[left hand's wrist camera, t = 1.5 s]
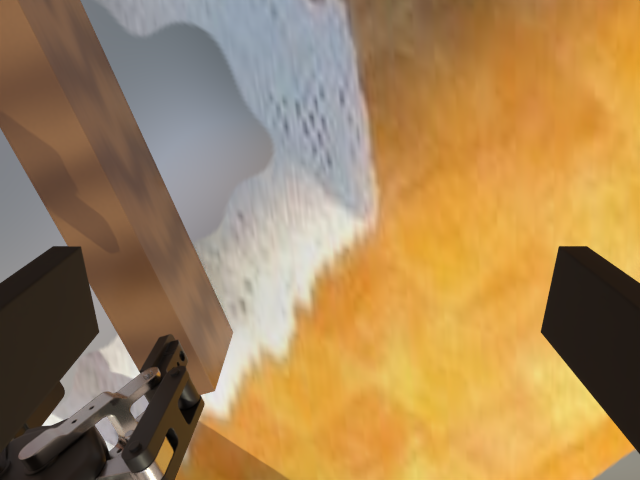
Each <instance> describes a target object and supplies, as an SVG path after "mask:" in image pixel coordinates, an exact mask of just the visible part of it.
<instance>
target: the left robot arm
mask: <svg viewBox="0 0 640 480" xmlns="http://www.w3.org/2000/svg"><path fill="white" fill-rule="evenodd" d="M98 333H99V329H98V324H97V319H96V315H95V310H94V305H93V301H92V296H91V291H90V286H89V282H88V277H87V272H86V268H85V263H84V258H83V253H82V249H81V246H53V247H52V248H50V249H49V250H47V251H46V252H44V253H43V254H42V255H40V256H39V257H37V258H36V259H34V260H33V261H32V262H30V263H29V264H27V265H26V266H24V267H23V268H21V269H20V270H19V271H17V272H16V273H14V274H13V275H11V276H10V277H9V278H7V279H6V280H4V281H3V282H1V283H0V454H1V452H2V451H3V450H4V449H5V447H6V446H7V445H8V444H9V443H10V441H11V440H12V439H13V438H14V436H15V435H16V434H17V433H18V431H19V430H20V429H21V428H22V427H23V425H24V424H25V423H26V422H27V420H28V419H29V418H30V417H31V415H32V414H33V413H34V412H35V411H36V409H37V408H38V407H39V406H40V404H41V403H42V402H43V401H44V399H45V398H46V397H47V396H48V395H49V393H50V392H51V391H52V390H53V388H54V387H55V386H56V385H57V383H58V382H59V381H60V380H61V378H62V377H63V376H64V375H65V374H66V372H67V371H68V370H69V369H70V367H71V366H72V365H73V364H74V363H75V361H76V360H77V359H78V358H79V356H80V355H81V354H82V353H83V351H84V350H85V349H86V348H87V346H88V345H89V344H90V343H91V342H92V340H93V339H94V338H95V337H96V335H97V334H98ZM541 333H542V334H543V335H544V337H545V338H546V339H547V340H548V342H549V343H550V344H551V345H552V347H553V348H554V349H555V350H556V351H557V353H558V354H559V355H560V356H561V358H562V359H563V360H564V361H565V363H566V364H567V365H568V366H569V367H570V369H571V370H572V371H573V372H574V374H575V375H576V376H577V377H578V379H579V380H580V381H581V382H582V383H583V385H584V386H585V387H586V388H587V390H588V391H589V392H590V393H591V395H592V396H593V397H594V398H595V399H596V401H597V402H598V403H599V404H600V406H601V407H602V408H603V409H604V411H605V412H606V413H607V414H608V415H609V417H610V418H611V419H612V420H613V422H614V423H615V424H616V425H617V427H618V428H619V429H620V430H621V431H622V433H623V434H624V435H625V436H626V438H627V439H628V440H629V441H630V443H631V444H632V445H633V446H634V447H635V449H636V450H637V451H638V452H639V454H640V283H639V282H637V281H636V280H634V279H633V278H631V277H630V276H629V275H627V274H626V273H624V272H623V271H621V270H620V269H619V268H617V267H616V266H614V265H613V264H611V263H610V262H609V261H607V260H606V259H604V258H603V257H601V256H600V255H598V254H597V253H596V252H594V251H593V250H591V249H590V248H588V247H587V246H559V249H558V253H557V258H556V263H555V268H554V272H553V277H552V282H551V286H550V291H549V296H548V300H547V305H546V310H545V315H544V319H543V324H542V329H541Z"/></svg>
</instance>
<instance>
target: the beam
mask: <svg viewBox="0 0 640 480" xmlns="http://www.w3.org/2000/svg"><path fill="white" fill-rule="evenodd" d="M0 128H1V130H2V131H3V133H4V135H5V137H6V138H7V140H8V142H9V144H10V145H11V147H12V149H13V151H14V152H15V154H16V156H17V158H18V159H19V161H20V163H21V165H22V166H23V168H24V170H25V172H26V173H27V175H28V177H29V179H30V180H31V182H32V184H33V186H34V188H35V189H36V191H37V193H38V195H39V196H40V198H41V200H42V202H43V203H44V205H45V207H46V209H47V210H48V212H49V214H50V216H51V217H52V219H53V221H54V222H55V224H56V226H57V228H58V230H59V231H60V233H61V235H62V237H63V238H64V240H65V242H66V244H67V245H68V246H81V249H82V253H83V258H84V263H85V268H86V272H87V277H88V282H89V284H90V286H91V287H92V289H93V291H94V293H95V294H96V296H97V298H98V300H99V301H100V303H101V305H102V307H103V309H104V310H105V312H106V314H107V316H108V317H109V319H110V321H111V322H112V324H113V326H114V328H115V330H116V331H117V333H118V335H119V337H120V338H121V340H122V342H123V344H124V345H125V347H126V349H127V351H128V352H129V354H130V356H131V358H132V359H133V361H134V363H135V365H136V366H137V368H138V370H139V372H140V369H141V368H142V366H143V364H144V362H145V361H146V359H147V357H148V356H149V354H150V352H151V350H152V349H153V347H154V345H155V343H156V342H157V340H158V338H159V337H162V336H165V335H168V334H172V335H173V336H174V338H175V340H179V342H180V344H181V346H182V348H183V350H184V352H185V354H186V355H187V357H188V364H187V366H186V369H187V370H188V372H189V374H190V378H191V380H192V382H193V384H194V386H195V388H196V389H197V391H198V393H199V395H202V394H206V393H209V392H213V391H215V389H216V386H217V382H218V379H219V376H220V373H221V370H222V366H223V363H224V360H225V357H226V354H227V350H228V347H229V344H230V341H231V338H232V334H233V331H232V329H231V327H230V325H229V323H228V321H227V318H226V316H225V314H224V312H223V310H222V307H221V305H220V303H219V301H218V299H217V297H216V294H215V292H214V290H213V288H212V286H211V284H210V281H209V279H208V277H207V275H206V273H205V271H204V268H203V266H202V264H201V262H200V260H199V257H198V255H197V253H196V251H195V249H194V247H193V244H192V242H191V240H190V238H189V236H188V234H187V231H186V229H185V227H184V225H183V223H182V221H181V218H180V216H179V214H178V212H177V210H176V208H175V205H174V203H173V201H172V199H171V197H170V194H169V192H168V190H167V188H166V186H165V184H164V181H163V179H162V177H161V175H160V173H159V171H158V168H157V166H156V164H155V162H154V160H153V157H152V155H151V153H150V151H149V149H148V147H147V144H146V142H145V140H144V138H143V136H142V134H141V131H140V129H139V127H138V125H137V123H136V121H135V118H134V116H133V114H132V112H131V110H130V107H129V105H128V103H127V101H126V99H125V97H124V95H123V92H122V90H121V88H120V86H119V84H118V81H117V79H116V77H115V75H114V73H113V71H112V69H111V66H110V64H109V62H108V60H107V58H106V55H105V53H104V51H103V49H102V47H101V45H100V42H99V40H98V38H97V36H96V34H95V31H94V29H93V27H92V25H91V23H90V21H89V18H88V16H87V14H86V12H85V10H84V8H83V5H82V3H81V1H80V0H0Z"/></svg>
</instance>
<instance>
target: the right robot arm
mask: <svg viewBox="0 0 640 480" xmlns="http://www.w3.org/2000/svg"><path fill="white" fill-rule="evenodd" d="M187 364H188V357H187V355H186V354H185V352H184V350H183V348H182V346H181V344H180V342H179V340H175V338H174V336H173V335H172V334H168V335H165V336H162V337H159V338H158V340H157V342H156V343H155V345H154V347H153V349H152V350H151V352H150V354H149V356H148V357H147V359H146V361H145V362H144V364H143V366H142V368H141V369H140V373H141V374H139V375H138V376H137V377H136V378H134V379H133V380H132V381H131V382H129V383H128V384H127V385H126V386H124V387H123V388H122V389H121V390H119V391H118V392H116V393H111V392H103V393H101V394H100V395H99V396H97V397H96V398H95V399H94V400H92V401H91V402H90V403H88V404H87V405H86V406H84V407H83V408H82V409H81V410H79V411H78V412H77V413H75V414H74V415H73V416H72V417H70V418H68V419H66V420H63V421H61V422H59V423H56V424H54V425H51V426H42V425H43V423H44V422H45V421H46V419H47V418H48V417H49V415H50V414H51V413H52V411H53V410H54V409H55V407H56V406H57V405H58V404H59V402H60V401H61V400H62V398H63V397H64V394H65V390H64V387H63V386H62V384H61V383H60V381H59V382H58V383H57V385H56V386H55V387H54V388H53V390H52V391H51V392H50V393H49V395H48V396H47V397H46V398H45V399H44V401H43V402H42V403H41V404H40V406H39V407H38V408H37V409H36V411H35V412H34V413H33V414H32V415H31V417H30V418H29V419H28V420H27V422H26V423H25V424H24V425H23V427H22V428H21V429H20V430H19V431H18V433H17V434H16V435H15V436H14V438H13V439H12V440H11V441H10V443H9V444H8V445H7V446H6V447H5V449H4V450H3V451H2V452H1V454H0V480H175V477H176V475H177V472H178V470H179V467H180V465H181V462H182V460H183V457H184V455H185V452H186V450H187V447H188V445H189V442H190V440H191V437H192V435H193V432H194V430H195V427H196V425H197V422H198V420H199V417H200V415H201V412H202V410H203V407H204V401H203V399H202V397H201V395H199V393H198V391H197V389H196V388H195V386H194V384H193V382H192V380H191V378H190V374H189V372H188V370H187V369H186V366H187ZM143 395H145V397H146V399H147V400H148V402H149V405H148V406H147V408H146V410H145V411H144V412H143V413H142V414H141V415H140V416H138V417H137V418H136V419H134V417H133V415H132V414H131V412H130V407H131V405H132V404H133V403H134V402H135V401H137V400H138V399H139V398H140V397H141V396H143ZM106 416H107V417H108V419H109V421H110V422H111V424H112V425H113V427H114V428H115V430H116V432H117V433H118V436H119V439H118V443H117V444H116V446H115V447H114V448H113V449H112V450H111V451H108V448H107V445H106V443H105V441H104V439H103V437H102V436H101V434H100V433H99V431H98V430H97V428H96V427H95V424H96V423H97V422H99V421H100V420H101V419H102V418H104V417H106Z"/></svg>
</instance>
